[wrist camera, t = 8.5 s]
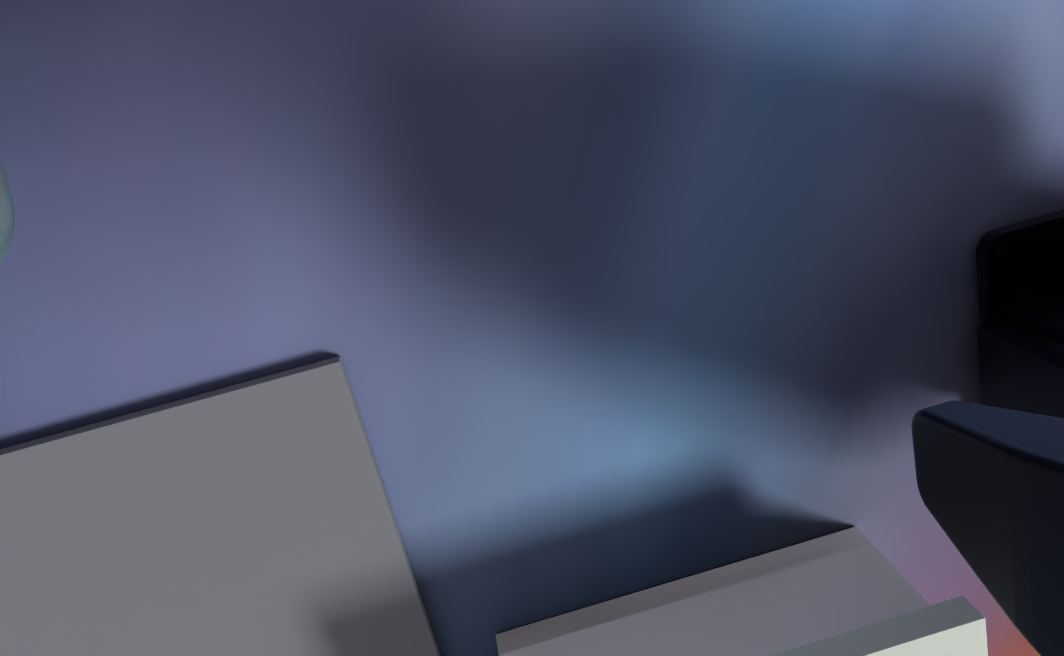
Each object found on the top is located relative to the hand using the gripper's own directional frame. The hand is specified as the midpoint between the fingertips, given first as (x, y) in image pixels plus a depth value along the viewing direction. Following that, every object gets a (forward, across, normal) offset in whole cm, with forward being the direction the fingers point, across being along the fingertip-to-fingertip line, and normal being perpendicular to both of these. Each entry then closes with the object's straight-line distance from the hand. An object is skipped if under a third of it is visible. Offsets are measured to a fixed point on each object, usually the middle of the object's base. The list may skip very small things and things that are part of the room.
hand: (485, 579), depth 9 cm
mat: (+12, +9, +8) cm, 17 cm away
